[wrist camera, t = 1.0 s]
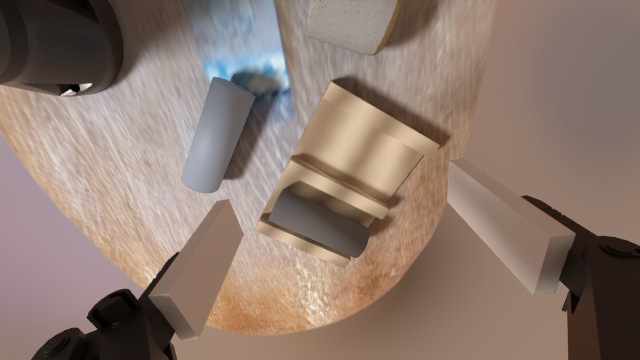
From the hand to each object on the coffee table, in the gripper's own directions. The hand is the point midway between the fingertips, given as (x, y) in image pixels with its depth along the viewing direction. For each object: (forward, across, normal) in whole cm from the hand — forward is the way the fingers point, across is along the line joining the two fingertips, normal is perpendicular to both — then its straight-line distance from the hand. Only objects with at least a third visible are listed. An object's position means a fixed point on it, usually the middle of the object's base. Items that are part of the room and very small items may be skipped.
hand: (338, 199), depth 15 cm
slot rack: (+20, 0, -9) cm, 22 cm away
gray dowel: (+20, -15, +1) cm, 25 cm away
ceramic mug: (+20, +5, +13) cm, 25 cm away
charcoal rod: (+18, -5, -15) cm, 24 cm away
